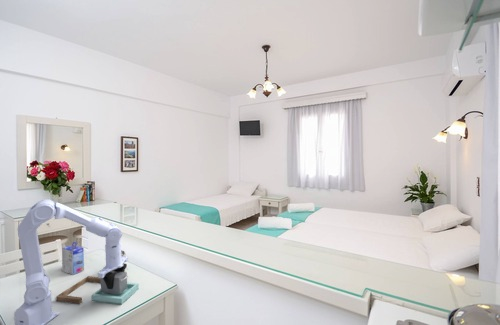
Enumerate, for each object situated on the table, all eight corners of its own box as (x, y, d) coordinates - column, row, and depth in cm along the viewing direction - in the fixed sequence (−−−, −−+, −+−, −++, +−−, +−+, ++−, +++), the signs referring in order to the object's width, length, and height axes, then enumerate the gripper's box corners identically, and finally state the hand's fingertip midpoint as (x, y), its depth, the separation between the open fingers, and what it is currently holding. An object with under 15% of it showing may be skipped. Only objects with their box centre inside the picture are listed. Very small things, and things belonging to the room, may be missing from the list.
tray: (121, 304, 92) (121, 298, 92) (91, 301, 94) (91, 295, 94) (138, 289, 102) (138, 283, 102) (111, 286, 105) (110, 280, 105)
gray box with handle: (121, 294, 95) (121, 278, 95) (101, 292, 97) (100, 276, 97) (129, 287, 100) (128, 272, 99) (109, 285, 101) (108, 270, 101)
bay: (79, 304, 93) (79, 299, 92) (56, 301, 94) (56, 296, 94) (108, 282, 108) (108, 278, 108) (88, 280, 110) (88, 276, 109)
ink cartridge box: (85, 270, 119) (83, 242, 118) (73, 275, 114) (72, 247, 113) (73, 266, 123) (72, 239, 122) (61, 271, 118) (60, 243, 117)
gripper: (108, 263, 90) (109, 296, 90) (133, 247, 104) (134, 276, 105) (93, 262, 91) (94, 294, 92) (119, 246, 105) (120, 275, 106)
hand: (114, 285), depth 98 cm, fingers closed on gray box with handle, 4 cm apart
